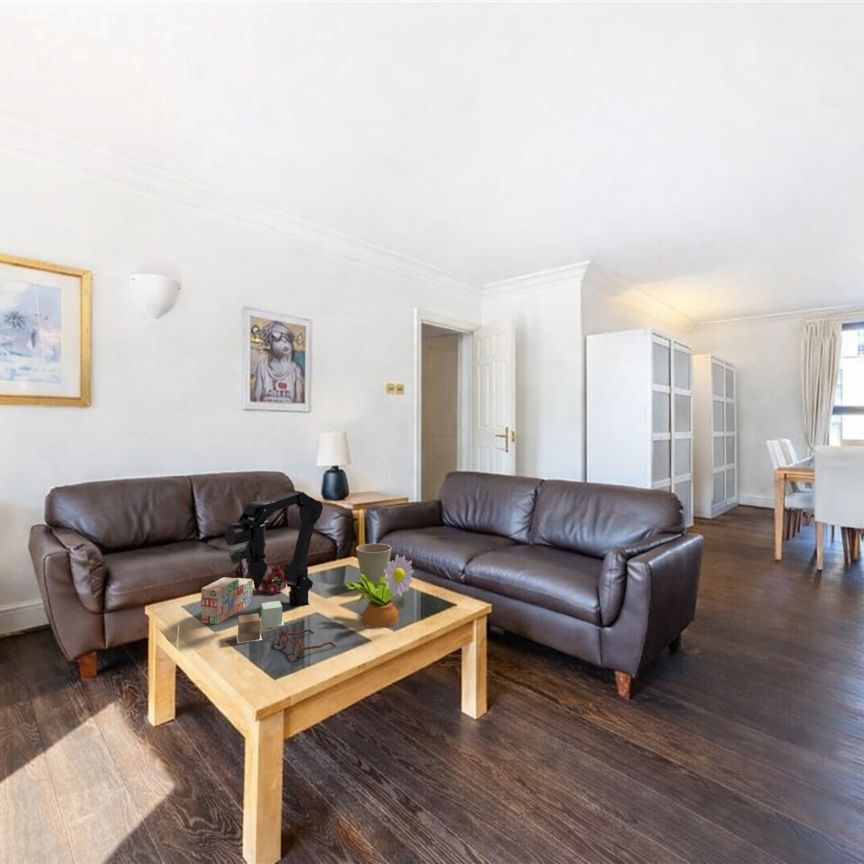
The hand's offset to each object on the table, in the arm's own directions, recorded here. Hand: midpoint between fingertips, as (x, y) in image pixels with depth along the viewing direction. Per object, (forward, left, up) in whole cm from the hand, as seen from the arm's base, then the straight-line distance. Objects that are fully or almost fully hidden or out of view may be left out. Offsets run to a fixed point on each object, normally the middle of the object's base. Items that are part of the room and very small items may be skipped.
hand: (255, 584), depth 169 cm
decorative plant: (-41, +14, -13) cm, 45 cm away
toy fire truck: (-9, -28, -13) cm, 32 cm away
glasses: (-13, +26, -13) cm, 32 cm away
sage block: (-5, +5, -12) cm, 14 cm away
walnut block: (+3, +14, -12) cm, 19 cm away
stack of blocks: (+8, -10, -13) cm, 18 cm away
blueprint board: (0, +11, -13) cm, 16 cm away
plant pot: (-50, -21, -13) cm, 56 cm away
